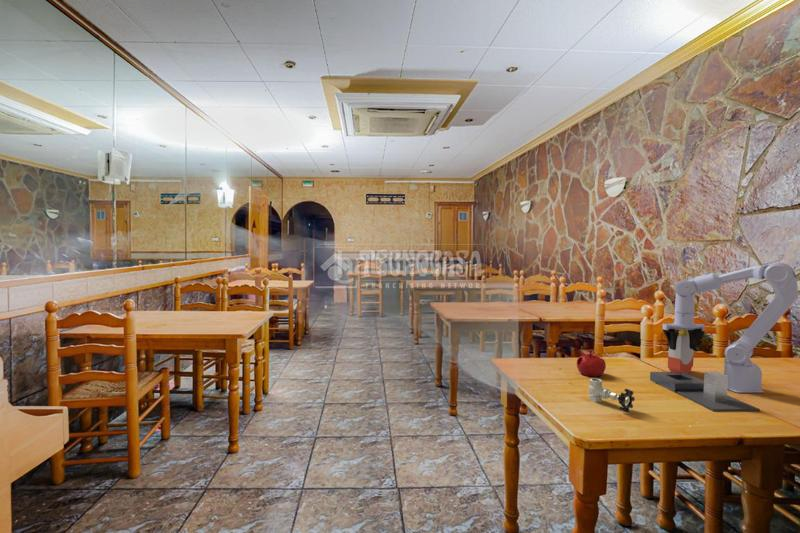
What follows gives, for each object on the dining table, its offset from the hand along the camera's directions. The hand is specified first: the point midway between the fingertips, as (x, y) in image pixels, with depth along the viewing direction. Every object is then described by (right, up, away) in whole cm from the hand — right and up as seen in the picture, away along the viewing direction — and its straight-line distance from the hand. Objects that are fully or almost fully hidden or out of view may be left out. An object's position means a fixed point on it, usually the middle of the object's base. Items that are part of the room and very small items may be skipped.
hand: (682, 349), depth 143 cm
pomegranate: (-32, -10, +3) cm, 34 cm away
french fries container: (+4, -10, +7) cm, 13 cm away
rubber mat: (-6, -11, -23) cm, 26 cm away
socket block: (-8, -11, -9) cm, 16 cm away
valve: (-41, -11, -26) cm, 50 cm away
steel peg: (-6, -11, -22) cm, 26 cm away
